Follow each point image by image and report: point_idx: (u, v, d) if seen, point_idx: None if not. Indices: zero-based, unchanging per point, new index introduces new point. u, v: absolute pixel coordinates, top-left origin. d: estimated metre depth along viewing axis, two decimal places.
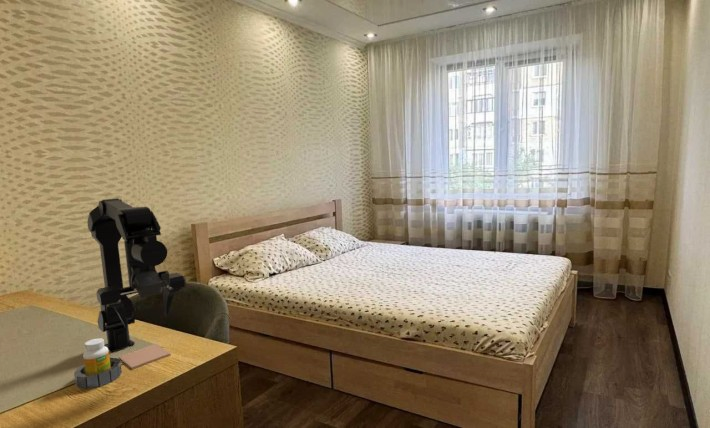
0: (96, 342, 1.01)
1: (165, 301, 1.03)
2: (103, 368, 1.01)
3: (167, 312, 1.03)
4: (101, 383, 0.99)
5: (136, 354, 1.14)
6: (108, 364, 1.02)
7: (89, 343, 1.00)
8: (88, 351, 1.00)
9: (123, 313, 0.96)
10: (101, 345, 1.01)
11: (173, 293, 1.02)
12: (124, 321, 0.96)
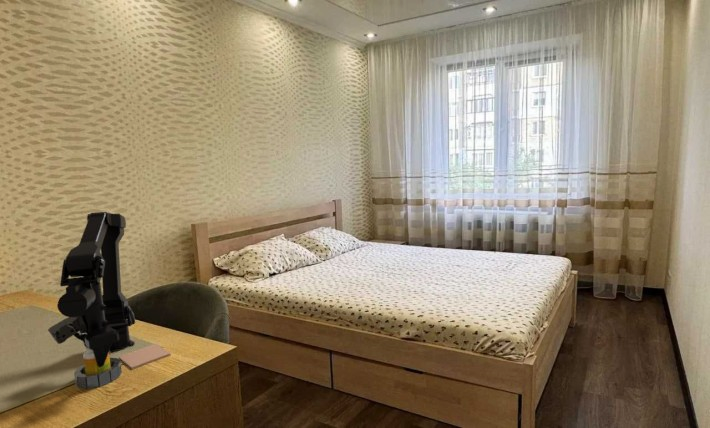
0: None
1: None
2: (103, 368, 1.01)
3: (97, 363, 0.99)
4: (101, 383, 0.99)
5: (136, 354, 1.14)
6: (108, 364, 1.02)
7: None
8: (88, 351, 1.00)
9: None
10: None
11: None
12: None
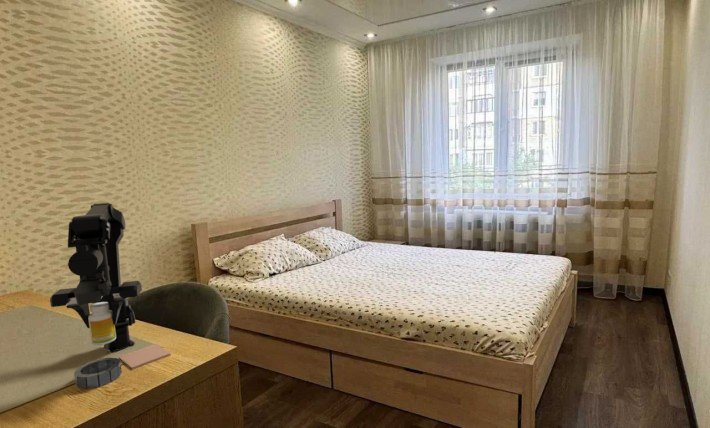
0: (104, 303, 1.03)
1: None
2: (114, 326, 1.04)
3: (114, 320, 1.03)
4: (101, 383, 0.99)
5: (136, 354, 1.14)
6: None
7: (99, 305, 1.01)
8: (101, 313, 1.01)
9: (83, 315, 1.01)
10: None
11: (116, 303, 1.01)
12: (85, 322, 1.01)
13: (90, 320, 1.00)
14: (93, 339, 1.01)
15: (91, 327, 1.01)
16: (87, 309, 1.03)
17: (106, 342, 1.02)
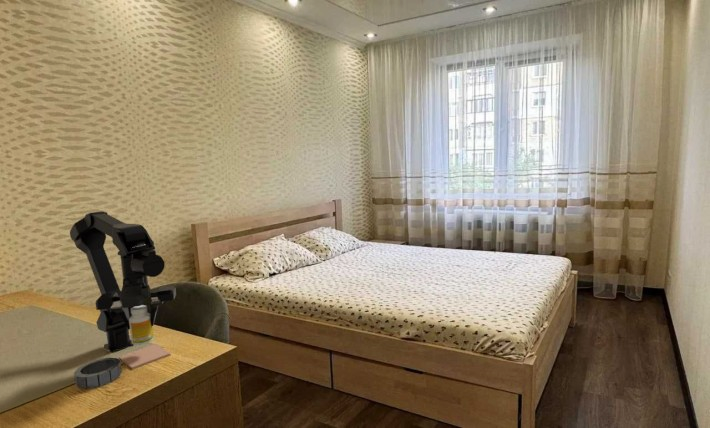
0: (142, 306, 1.12)
1: None
2: None
3: (152, 322, 1.12)
4: (101, 383, 0.99)
5: (136, 354, 1.14)
6: None
7: (139, 308, 1.11)
8: (140, 315, 1.10)
9: (125, 317, 1.10)
10: None
11: (154, 306, 1.11)
12: (126, 324, 1.10)
13: (131, 322, 1.10)
14: (133, 339, 1.10)
15: (132, 328, 1.10)
16: (127, 312, 1.12)
17: (145, 342, 1.11)
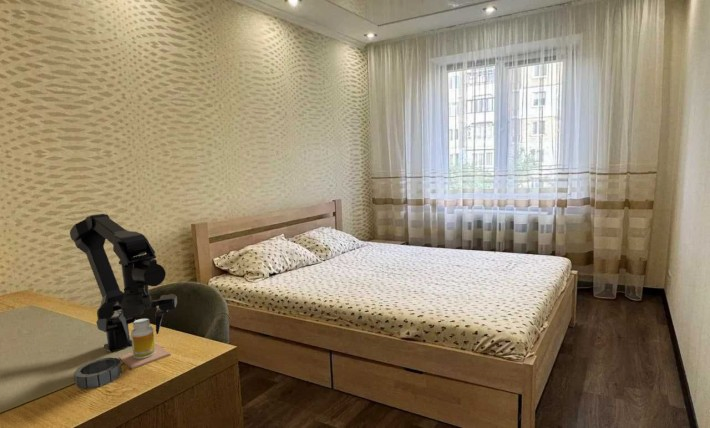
0: (145, 320, 1.12)
1: None
2: None
3: (157, 330, 1.13)
4: (101, 383, 0.99)
5: None
6: None
7: (141, 322, 1.11)
8: (143, 329, 1.11)
9: (122, 326, 1.10)
10: None
11: (160, 314, 1.11)
12: (123, 333, 1.10)
13: (133, 336, 1.10)
14: (135, 353, 1.11)
15: (134, 342, 1.10)
16: (124, 321, 1.12)
17: (147, 356, 1.11)
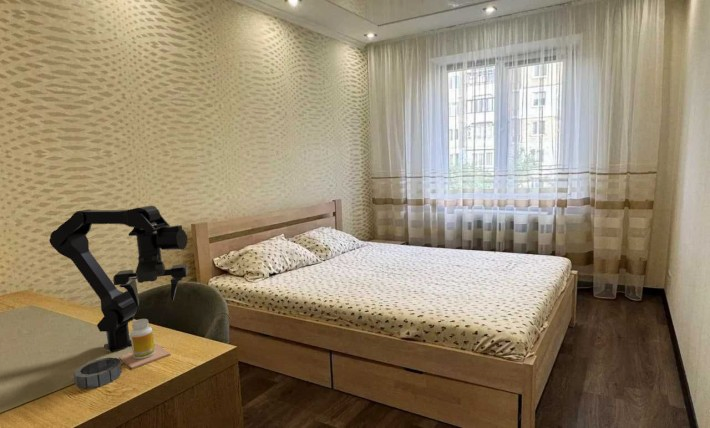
0: (143, 320, 1.13)
1: None
2: (153, 341, 1.14)
3: (172, 297, 1.19)
4: (101, 383, 0.99)
5: None
6: None
7: (140, 322, 1.11)
8: (142, 329, 1.11)
9: (133, 293, 1.15)
10: None
11: (175, 282, 1.17)
12: (135, 300, 1.16)
13: (132, 336, 1.10)
14: (135, 353, 1.11)
15: (133, 342, 1.10)
16: (136, 289, 1.17)
17: (147, 356, 1.11)
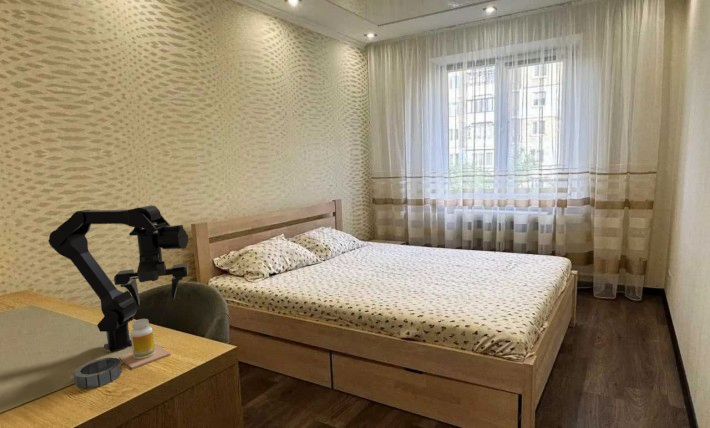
0: (144, 320, 1.13)
1: None
2: (153, 341, 1.14)
3: (172, 297, 1.19)
4: (101, 383, 0.99)
5: None
6: None
7: (140, 322, 1.11)
8: (142, 329, 1.11)
9: (134, 293, 1.16)
10: None
11: (175, 281, 1.18)
12: (135, 300, 1.16)
13: (133, 336, 1.10)
14: (135, 353, 1.11)
15: (133, 342, 1.10)
16: (136, 289, 1.18)
17: (147, 356, 1.11)
